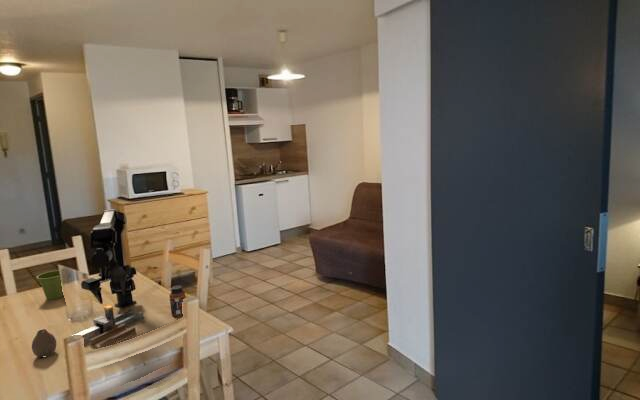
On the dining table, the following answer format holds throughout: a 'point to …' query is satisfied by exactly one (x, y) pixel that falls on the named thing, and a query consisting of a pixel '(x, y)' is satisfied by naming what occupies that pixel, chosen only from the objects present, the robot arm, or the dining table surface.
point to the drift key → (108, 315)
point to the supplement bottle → (176, 300)
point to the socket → (118, 320)
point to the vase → (43, 343)
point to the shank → (89, 333)
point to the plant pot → (51, 284)
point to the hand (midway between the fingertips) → (113, 299)
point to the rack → (112, 336)
